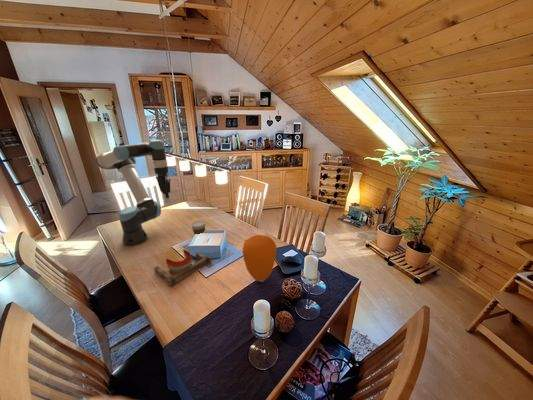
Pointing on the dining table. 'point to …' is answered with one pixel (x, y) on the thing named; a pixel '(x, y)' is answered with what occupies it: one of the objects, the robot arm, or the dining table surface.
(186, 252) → the toy
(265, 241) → the orange egg-shaped ornament
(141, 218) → the robot arm
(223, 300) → the dining table surface
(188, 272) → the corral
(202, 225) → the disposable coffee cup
